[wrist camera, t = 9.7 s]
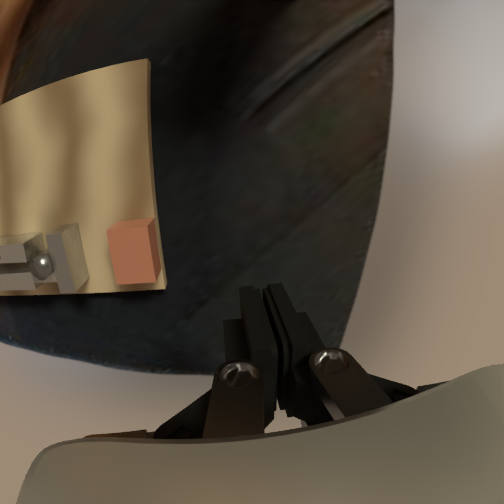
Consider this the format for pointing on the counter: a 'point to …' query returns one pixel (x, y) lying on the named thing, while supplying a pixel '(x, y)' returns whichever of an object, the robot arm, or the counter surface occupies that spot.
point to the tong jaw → (20, 247)
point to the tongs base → (50, 264)
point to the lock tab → (134, 251)
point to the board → (80, 166)
